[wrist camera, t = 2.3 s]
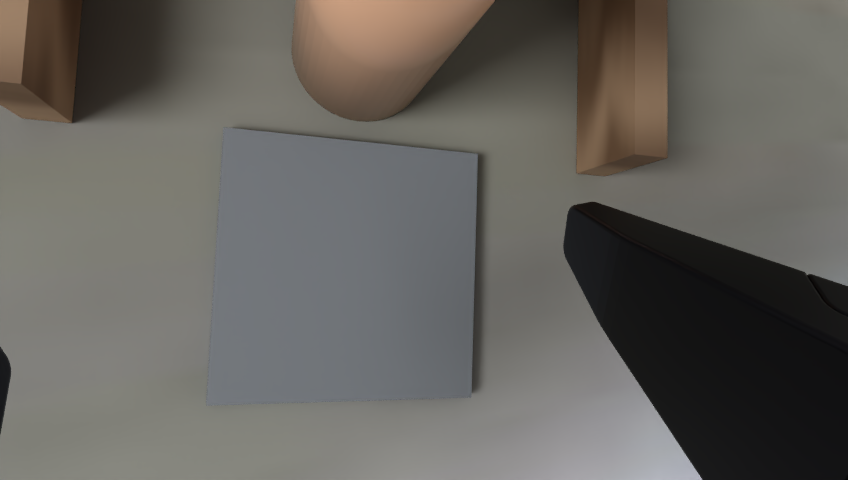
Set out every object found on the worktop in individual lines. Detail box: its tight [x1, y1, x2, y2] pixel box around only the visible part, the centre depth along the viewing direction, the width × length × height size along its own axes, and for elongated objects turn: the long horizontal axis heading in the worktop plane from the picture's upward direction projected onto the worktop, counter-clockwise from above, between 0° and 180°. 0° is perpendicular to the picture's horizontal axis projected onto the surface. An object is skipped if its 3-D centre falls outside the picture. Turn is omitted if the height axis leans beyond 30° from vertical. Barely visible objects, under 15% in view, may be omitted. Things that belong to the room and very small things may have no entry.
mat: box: [206, 127, 478, 405], centre depth 21 cm, size 10×10×1 cm
